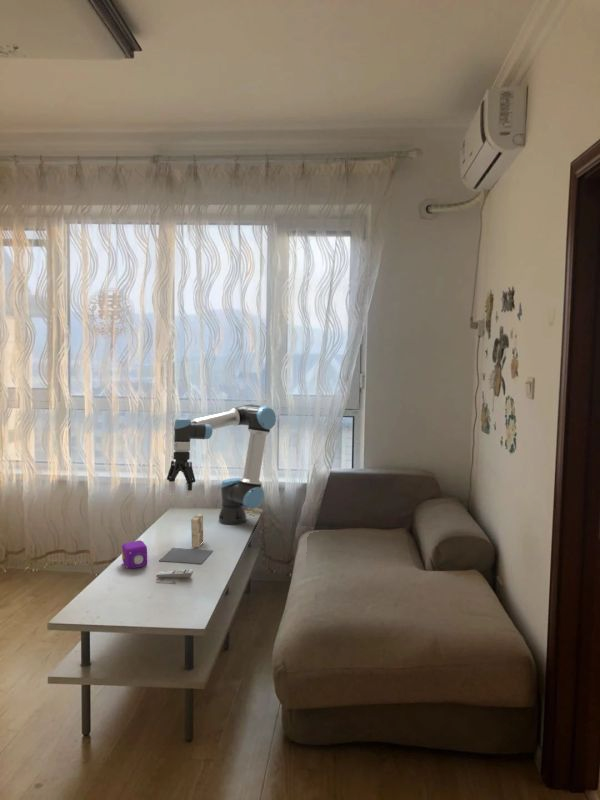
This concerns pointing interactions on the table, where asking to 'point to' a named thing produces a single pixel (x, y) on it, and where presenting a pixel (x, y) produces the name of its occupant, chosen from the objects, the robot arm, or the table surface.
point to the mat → (186, 556)
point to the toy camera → (134, 554)
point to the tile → (197, 530)
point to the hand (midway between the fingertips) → (180, 496)
